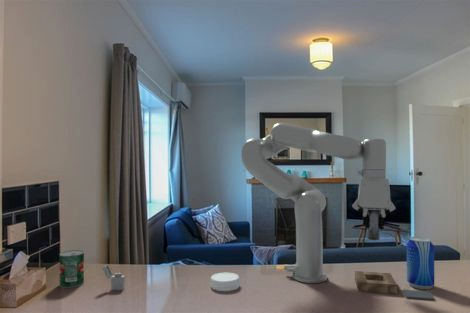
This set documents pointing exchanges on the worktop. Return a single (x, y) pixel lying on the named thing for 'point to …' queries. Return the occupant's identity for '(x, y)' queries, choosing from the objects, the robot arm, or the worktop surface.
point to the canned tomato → (71, 268)
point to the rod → (373, 224)
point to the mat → (418, 295)
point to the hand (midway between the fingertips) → (373, 227)
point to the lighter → (115, 279)
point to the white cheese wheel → (225, 281)
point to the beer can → (420, 263)
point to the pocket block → (375, 282)
